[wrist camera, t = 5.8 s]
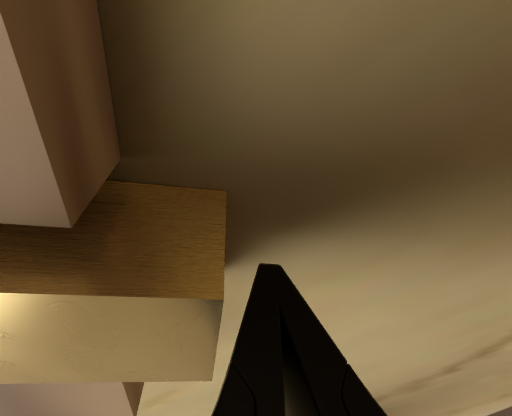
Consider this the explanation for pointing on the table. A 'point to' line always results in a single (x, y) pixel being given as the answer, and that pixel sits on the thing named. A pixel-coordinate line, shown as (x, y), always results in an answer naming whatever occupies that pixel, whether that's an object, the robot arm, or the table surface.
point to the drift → (116, 289)
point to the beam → (56, 158)
